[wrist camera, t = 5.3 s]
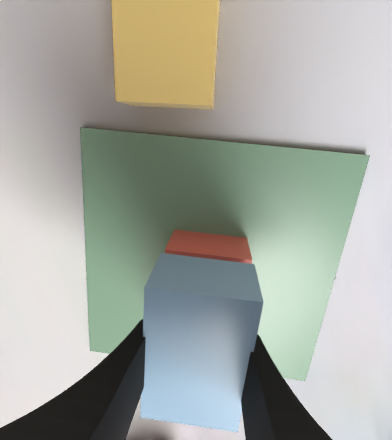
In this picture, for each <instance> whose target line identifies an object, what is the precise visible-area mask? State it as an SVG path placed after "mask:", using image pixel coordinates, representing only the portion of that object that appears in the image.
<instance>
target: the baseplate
mask: <svg viewBox="0 0 392 440" xmlns="http://www.w3.org/2000/svg"><path fill="white" fill-rule="evenodd" d="M80 134H81V156H82V179H83V202H84V225H85V248H86V271H87V294H88V317H89V340H90V351H96V352H103V353H111V352H112V351H113V350H114V349H115V348H116V347H117V346H118V345H119V344H120V343H121V342H122V341H123V340H124V339H125V338H126V337H127V335H128V334H129V333H130V332H131V331H132V330H133V329H134V327H135V326H136V325H137V324H138V322H139V321H140V320H142V319H143V315H144V287H145V285H146V283H147V281H148V278H149V276H150V274H151V272H152V270H153V268H154V266H155V264H156V262H157V260H158V258H159V256H160V253H165V248H166V246H167V244H168V242H169V240H170V238H171V235H172V233H173V231H174V229H175V230H183V231H192V232H201V233H209V234H218V235H227V236H235V237H244V238H247V240H248V244H249V248H250V252H251V256H252V264H255V268H256V272H257V277H258V281H259V285H260V289H261V293H262V297H263V301H264V303H263V308H262V313H261V318H260V323H259V328H258V333H257V334H258V335H259V336H260V338H261V340H262V342H263V344H264V346H265V347H266V349H267V351H268V353H269V355H270V357H271V358H272V360H273V362H274V364H275V365H276V367H277V369H278V370H279V372H280V373H281V375H282V377H283V378H287V379H294V380H301V381H305V380H306V377H307V373H308V370H309V366H310V363H311V359H312V356H313V352H314V349H315V345H316V342H317V338H318V335H319V331H320V328H321V325H322V321H323V318H324V314H325V311H326V307H327V304H328V300H329V297H330V293H331V290H332V286H333V283H334V279H335V276H336V272H337V269H338V265H339V262H340V258H341V255H342V251H343V248H344V244H345V241H346V237H347V234H348V230H349V227H350V223H351V220H352V216H353V213H354V209H355V206H356V202H357V199H358V195H359V192H360V188H361V185H362V181H363V178H364V174H365V171H366V167H367V164H368V160H369V157H370V155H363V154H352V153H342V152H332V151H321V150H311V149H301V148H290V147H280V146H270V145H259V144H249V143H238V142H228V141H218V140H207V139H197V138H187V137H176V136H166V135H156V134H145V133H135V132H125V131H114V130H104V129H94V128H81V127H80Z"/></svg>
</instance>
